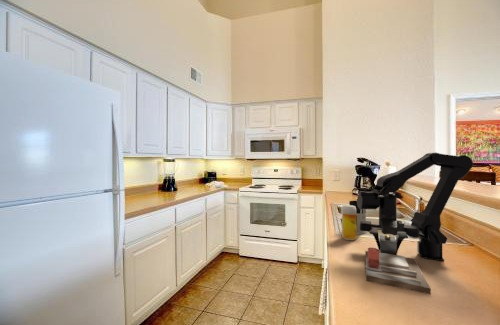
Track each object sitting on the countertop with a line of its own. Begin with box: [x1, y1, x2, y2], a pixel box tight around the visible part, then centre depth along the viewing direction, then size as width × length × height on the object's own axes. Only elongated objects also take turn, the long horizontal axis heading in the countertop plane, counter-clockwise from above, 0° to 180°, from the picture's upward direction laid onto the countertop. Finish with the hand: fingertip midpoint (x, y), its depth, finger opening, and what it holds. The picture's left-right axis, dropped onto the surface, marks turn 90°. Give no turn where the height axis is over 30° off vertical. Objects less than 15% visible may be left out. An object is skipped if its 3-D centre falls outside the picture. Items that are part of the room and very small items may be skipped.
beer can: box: [341, 204, 357, 241], centre depth 103 cm, size 6×6×15 cm
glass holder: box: [348, 200, 368, 235], centre depth 112 cm, size 9×14×15 cm, turn 172°
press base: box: [364, 250, 432, 295], centre depth 72 cm, size 15×21×3 cm
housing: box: [378, 234, 398, 255], centre depth 85 cm, size 5×7×7 cm
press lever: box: [365, 247, 382, 273], centre depth 68 cm, size 4×4×7 cm
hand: (387, 251), depth 85 cm, fingers closed on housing, 5 cm apart
